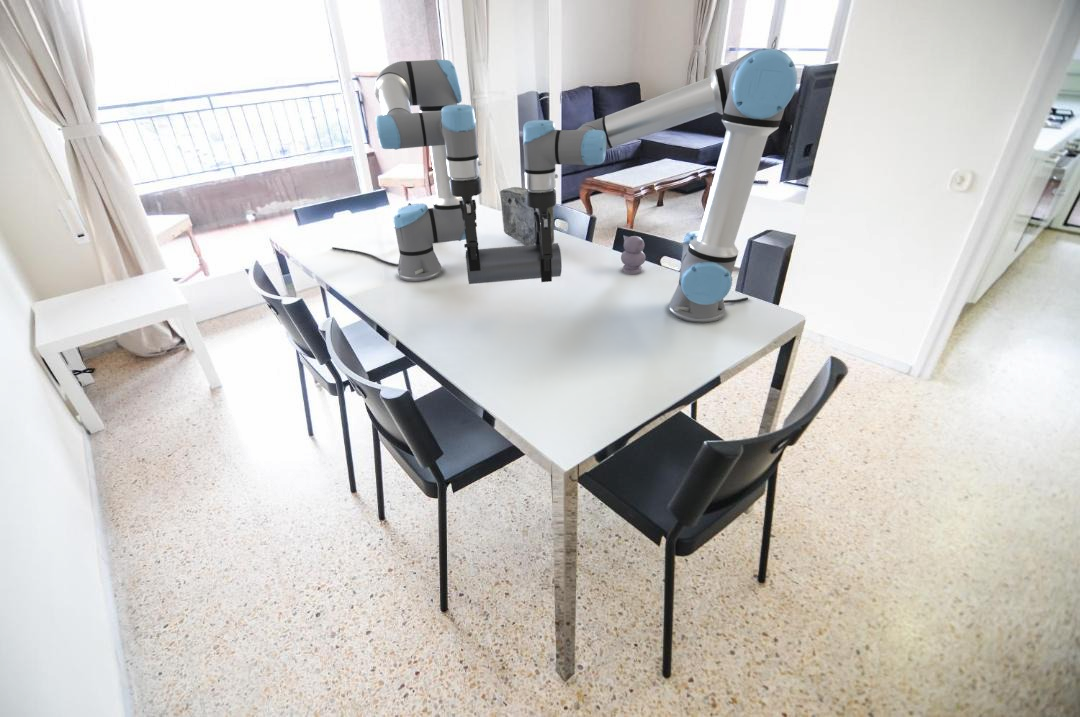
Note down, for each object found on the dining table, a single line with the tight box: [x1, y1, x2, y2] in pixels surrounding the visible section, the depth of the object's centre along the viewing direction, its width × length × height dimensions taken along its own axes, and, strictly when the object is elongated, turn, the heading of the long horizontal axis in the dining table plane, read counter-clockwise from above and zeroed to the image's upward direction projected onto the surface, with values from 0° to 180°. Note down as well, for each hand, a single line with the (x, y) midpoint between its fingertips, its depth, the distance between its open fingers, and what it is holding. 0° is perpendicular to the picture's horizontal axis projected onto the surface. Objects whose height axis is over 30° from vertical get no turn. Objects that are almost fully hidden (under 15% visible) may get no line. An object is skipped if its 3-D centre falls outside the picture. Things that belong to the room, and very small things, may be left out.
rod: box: [464, 242, 562, 285], centre depth 132 cm, size 24×9×9 cm, turn 98°
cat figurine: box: [620, 234, 646, 275], centre depth 168 cm, size 9×8×12 cm
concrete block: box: [499, 186, 555, 246], centre depth 194 cm, size 27×9×20 cm, turn 36°
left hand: (473, 260), depth 131 cm, fingers open, 13 cm apart
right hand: (543, 274), depth 135 cm, fingers closed on rod, 9 cm apart
